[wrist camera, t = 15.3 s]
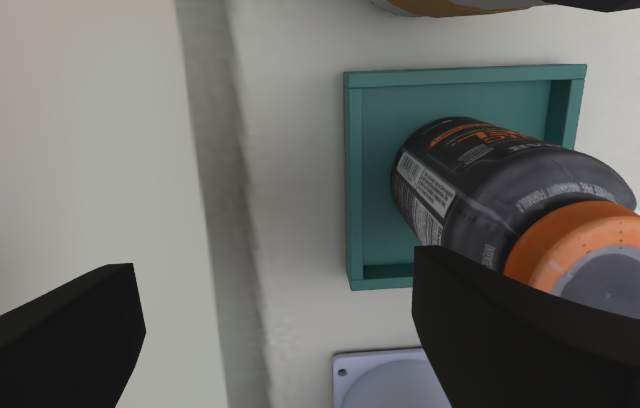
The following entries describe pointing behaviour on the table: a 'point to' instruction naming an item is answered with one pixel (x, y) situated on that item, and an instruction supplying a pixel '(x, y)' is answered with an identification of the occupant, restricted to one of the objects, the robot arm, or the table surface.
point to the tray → (416, 112)
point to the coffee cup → (492, 6)
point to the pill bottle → (523, 210)
